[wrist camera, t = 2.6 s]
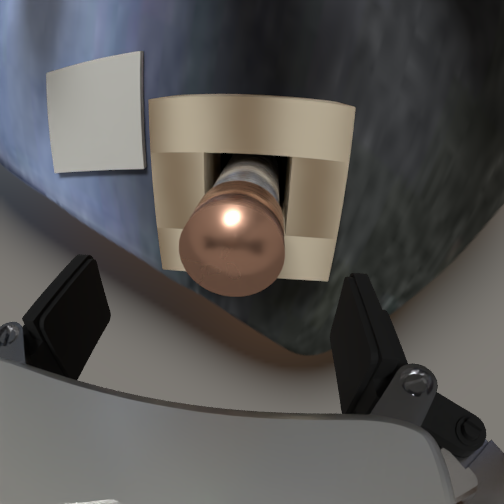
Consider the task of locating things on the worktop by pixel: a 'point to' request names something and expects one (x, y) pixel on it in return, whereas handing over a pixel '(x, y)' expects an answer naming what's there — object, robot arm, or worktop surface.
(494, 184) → the worktop surface
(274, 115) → the birch eye block
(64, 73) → the white square plate
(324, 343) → the worktop surface
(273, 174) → the copper capped bottle
